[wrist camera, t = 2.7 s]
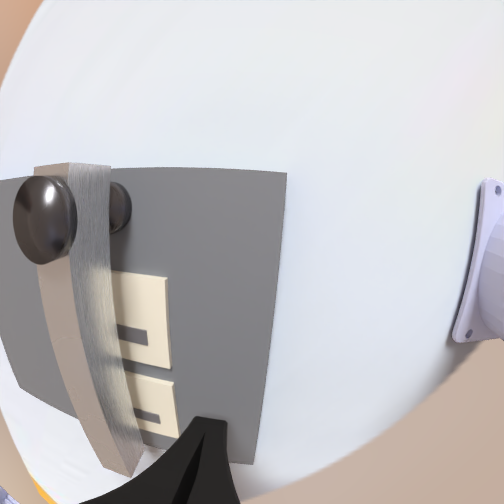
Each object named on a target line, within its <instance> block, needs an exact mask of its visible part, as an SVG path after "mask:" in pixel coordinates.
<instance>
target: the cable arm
mask: <svg viewBox="0 0 504 504" xmlns="http://www.w3.org/2000/svg"><path fill="white" fill-rule="evenodd" d="M110 173H111V166H105V165H94V164H83V163H61V164H53V165H46V166H39V167H34V176H32V177H30V178H28V179H27V180H26V181H25V182H24V183H23V184H22V185H21V187H20V188H19V190H18V192H17V195H16V198H15V202H14V207H13V228H14V233H15V237H16V240H17V243H18V245H19V247H20V249H21V251H22V252H23V254H24V255H25V256H26V257H27V258H28V259H29V260H30V261H31V262H33V263H35V264H37V272H38V279H39V286H40V292H41V298H42V303H43V308H44V313H45V318H46V322H47V327H48V331H49V335H50V339H51V342H52V346H53V350H54V353H55V357H56V360H57V363H58V366H59V369H60V372H61V375H62V378H63V381H64V384H65V387H66V389H67V392H68V395H69V397H70V400H71V402H72V405H73V407H74V409H75V412H76V414H77V416H78V419H79V421H80V423H81V425H82V427H83V430H84V432H85V434H86V436H87V438H88V440H89V442H90V444H91V446H92V448H93V449H94V451H95V453H96V455H97V457H98V459H99V460H100V462H101V464H102V466H103V467H104V468H107V469H109V470H112V471H114V472H117V473H119V474H122V475H125V476H127V477H130V478H131V477H132V475H133V473H134V471H135V469H136V467H137V465H138V463H139V461H140V459H141V457H142V454H143V452H144V450H145V447H144V444H143V441H142V437H141V434H140V431H139V428H138V424H137V421H136V417H135V414H134V410H133V406H132V402H131V398H130V394H129V390H128V385H127V381H126V376H125V372H124V367H123V362H122V356H121V351H120V345H119V339H118V332H117V325H116V318H115V310H114V301H113V291H112V280H111V265H110V244H109V195H110Z"/></svg>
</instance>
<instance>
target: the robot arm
mask: <svg viewBox="0 0 504 504" xmlns="http://www.w3.org/2000/svg"><path fill="white" fill-rule="evenodd" d="M495 188H496V193H495ZM467 331H468V332H467ZM452 338H453V340H454V341H455V342H456V343H464V342H473V341H481V340H489V339H496V338H501V339H502V340H503V341H504V182H501V181H499V180H496V179H493V178H485V179H483V181H482V184H481V196H480V208H479V217H478V226H477V233H476V240H475V246H474V251H473V257H472V262H471V267H470V271H469V276H468V280H467V284H466V288H465V292H464V296H463V300H462V303H461V307H460V310H459V313H458V316H457V320H456V323H455V326H454V329H453V332H452ZM227 428H228V422H226V421H225V420H219V419H212V418H206V417H200V416H195V417H194V418H193V419H192V421H191V422H190V424H189V425H188V427H187V428H186V429H185V431H184V432H183V433H182V434H181V436H180V437H179V438H178V439H177V440H176V441H175V443H174V444H173V445H172V446H171V447H170V448H169V449H168V450H167V451H166V452H165V453H164V454H163V455H162V456H161V457H160V458H159V459H158V460H157V461H156V462H155V463H153V464H152V465H151V466H150V467H149V468H147V469H146V470H145V471H143V472H142V473H141V474H139V475H138V476H136V477H135V478H133V479H132V480H130V481H129V482H127V483H126V484H124V485H122V486H120V487H118V488H116V489H114V490H112V491H110V492H108V493H106V494H104V495H102V496H99V497H97V498H94V499H91V500H88V501H85V502H82V503H79V504H240V501H239V499H238V496H237V493H236V490H235V487H234V484H233V480H232V476H231V472H230V467H229V462H228V456H227ZM0 504H20V503H19V502H17V501H16V500H15V499H14V498H13V497H11V496H10V495H9V494H8V493H7V492H6V491H5V490H4V489H3V488H2V487H1V486H0Z"/></svg>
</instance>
